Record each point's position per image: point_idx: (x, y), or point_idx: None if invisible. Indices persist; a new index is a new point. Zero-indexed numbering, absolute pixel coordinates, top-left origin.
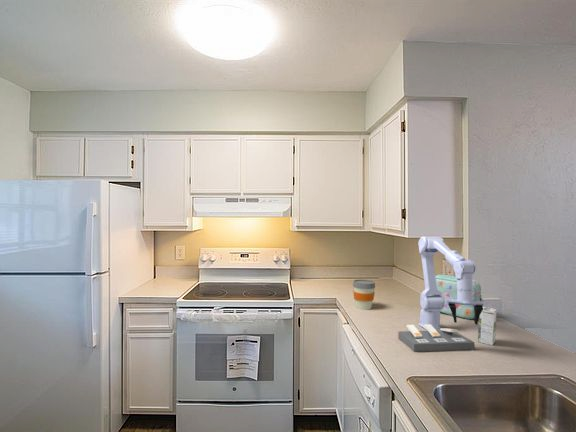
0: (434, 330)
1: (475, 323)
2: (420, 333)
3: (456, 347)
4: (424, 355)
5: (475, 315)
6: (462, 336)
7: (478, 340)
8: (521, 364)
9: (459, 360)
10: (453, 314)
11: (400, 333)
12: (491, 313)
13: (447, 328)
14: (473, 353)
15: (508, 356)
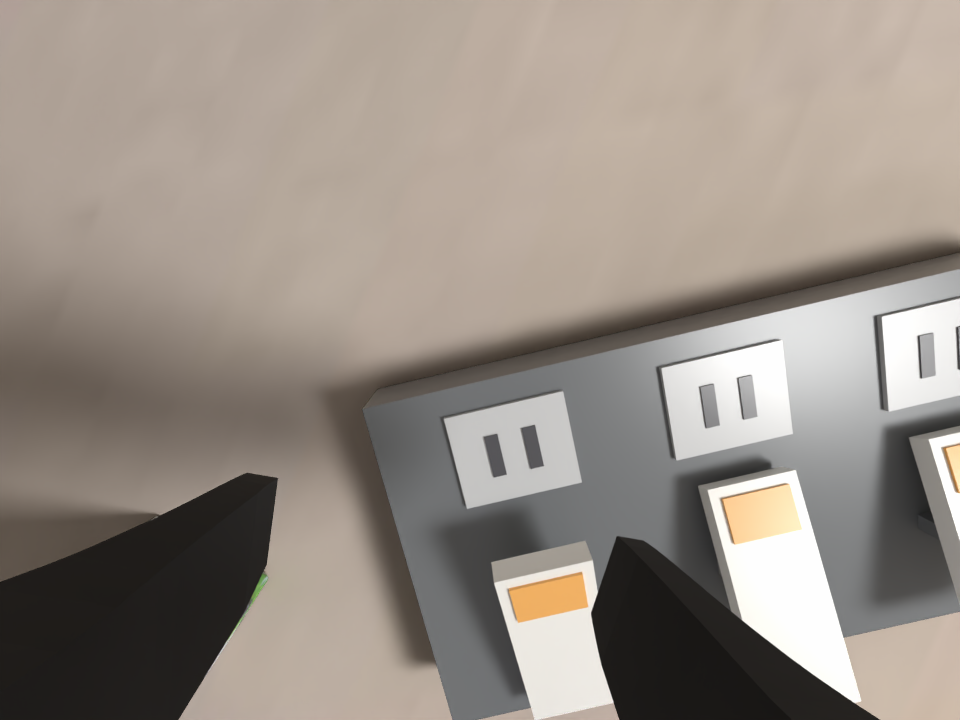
0: (754, 584)
1: (270, 499)
2: (944, 486)
3: (562, 352)
4: (918, 173)
5: (158, 667)
6: (428, 558)
7: (259, 581)
8: (48, 94)
9: (628, 102)
10: (790, 664)
11: None
12: None
13: (539, 707)
14: (421, 296)
15: (104, 275)
